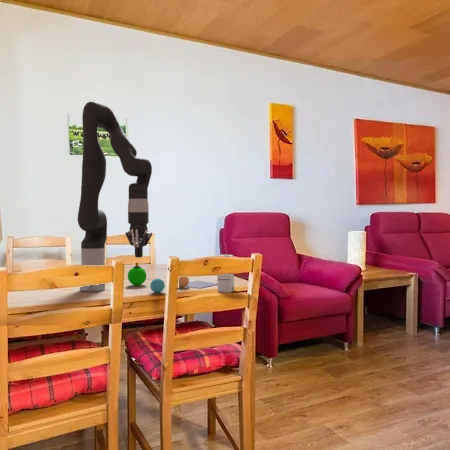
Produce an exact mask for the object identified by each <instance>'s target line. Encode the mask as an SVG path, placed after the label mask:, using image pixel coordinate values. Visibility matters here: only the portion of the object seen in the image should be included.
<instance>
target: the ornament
mask: <svg viewBox="0 0 450 450" xmlns="http://www.w3.org/2000/svg"><path fill="white" fill-rule="evenodd" d="M127 280H128V281H129V283H131V285H133V286H136V287H137V286H141V285H143V284H144V283H145V281H146V280H147V271H145V269H144V268H143V267H141V266H140V265H139V262H135V266H133V267H131V268H130V270H129V271H128V273H127Z"/></svg>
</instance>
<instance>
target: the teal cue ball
mask: <svg viewBox="0 0 450 450" xmlns="http://www.w3.org/2000/svg"><path fill="white" fill-rule="evenodd" d="M165 285H166V284H165V281H164V279H163V280H162V279H161V278H155V279H153V280H152V281H151V282H150V287H149V288H150V289H151V291H152V292H153V293H154V294H159V293H161V292H163V291H164V290H165Z"/></svg>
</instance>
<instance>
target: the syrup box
mask: <svg viewBox="0 0 450 450" xmlns="http://www.w3.org/2000/svg"><path fill="white" fill-rule="evenodd" d="M219 256H225V257H233V258H234V254H220V255H219ZM234 279H235V273H234V274H224V275H217V283H218V285H217V292H219V293H232V292H233V291H234V290H235V280H234Z"/></svg>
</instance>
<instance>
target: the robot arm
mask: <svg viewBox="0 0 450 450" xmlns="http://www.w3.org/2000/svg"><path fill="white" fill-rule="evenodd" d="M81 115H82V138H83V139H82V143H83V144H82V145H83V146H82V163H81V186H80V189H81V191H80V200H79V206H78V211H77V212H78V214H77V224H78V226H79V228H80V229H81V230H82V231H84V232H85V234H84V238H83V239H82V241H81V243H80V251H81V252H80V255H81V258H80V260H81V261H80V262H81V263H80V266H81V265H105V266H106V242H107V238H108V236H107V235H108V219H107V218H108V217H107V215H106V213H105V212H104V211H103V210H101V209H99V197H100V193H101V190H102V188H103V187H104V183H105V180H106V175H107V159H106V156H105V153H104V150H103V149H102V146H101V144H100V142H99V138H98V129H103V130H104V131H106V132H107V134H108V135H109V136H110V140H109V141H110V145H111V148H112V150H113V151H114V153H115V154H116V155H117V157H118V158H119V160H120V164H121V166H122V169H123V171H124V173H125V174H127V175H128V176H130V177H137V178H136V181H135V182H132V183H130V184H129V186H128V203H127V224H129V230H128V231H125V236H126V238H127V241H128V242H129V244H130V246H133V248H134V257H135V258H142V257H143V255H144V254H143V250H144V249H143V248H144V247H146V246H147V245H148V244H149V241H150V240H151V238H152V236H153V233H152V232H149V229H148V226H147V224H149V221H150V219H149V215H150V214H149V201H148V200H149V199H148V197H149V193H148V192H149V191H148V188H149V184H150V181H151V176H152V174H153V173H152V172H153V167H152V163H151V161H150V160H149V159H147V158H143V157H137V154H138V153H137V149H136V148H135V145H134V144H132V142H131V141H130V139H129V138H128V137H127V135H126V134H125V132H124V131H123V129H122V127H121V125H120V123H119V121H118V119H117V117H116V115H115V113H114V112H113V110H112V108H110V107H109V106H107V105H104V104H101V103H98V102H94V101H88V102H87V103H85V105H84V107H83V109H82V114H81ZM105 290H106V283H105V284H99V285H90V286H83V287H80V286H79V291H80V292H91V293H92V292H101V291H105Z"/></svg>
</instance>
